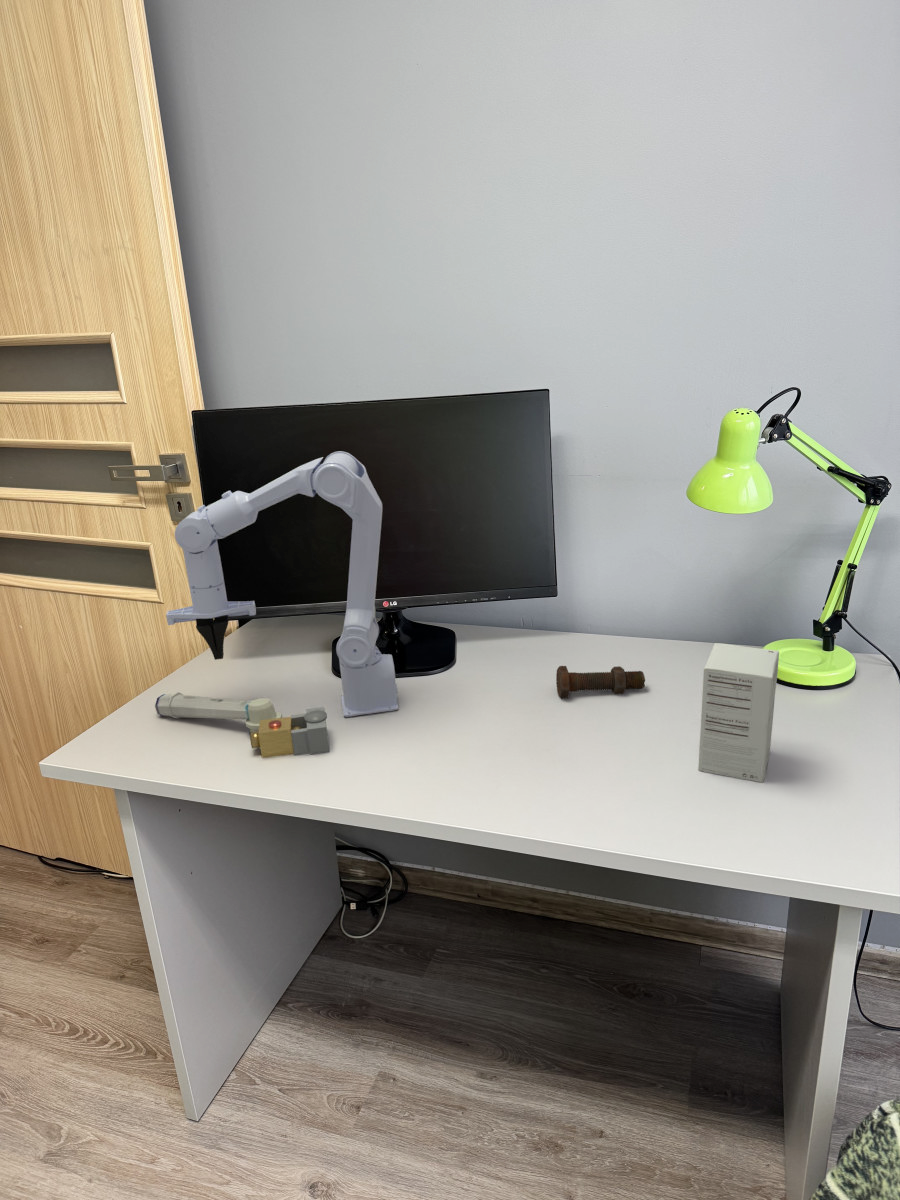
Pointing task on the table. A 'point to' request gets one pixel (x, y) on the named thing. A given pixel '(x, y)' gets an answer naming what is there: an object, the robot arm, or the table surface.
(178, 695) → the toothbrush head
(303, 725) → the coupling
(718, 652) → the supplement box
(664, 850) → the table surface
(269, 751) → the valve
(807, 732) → the table surface
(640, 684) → the bolt
